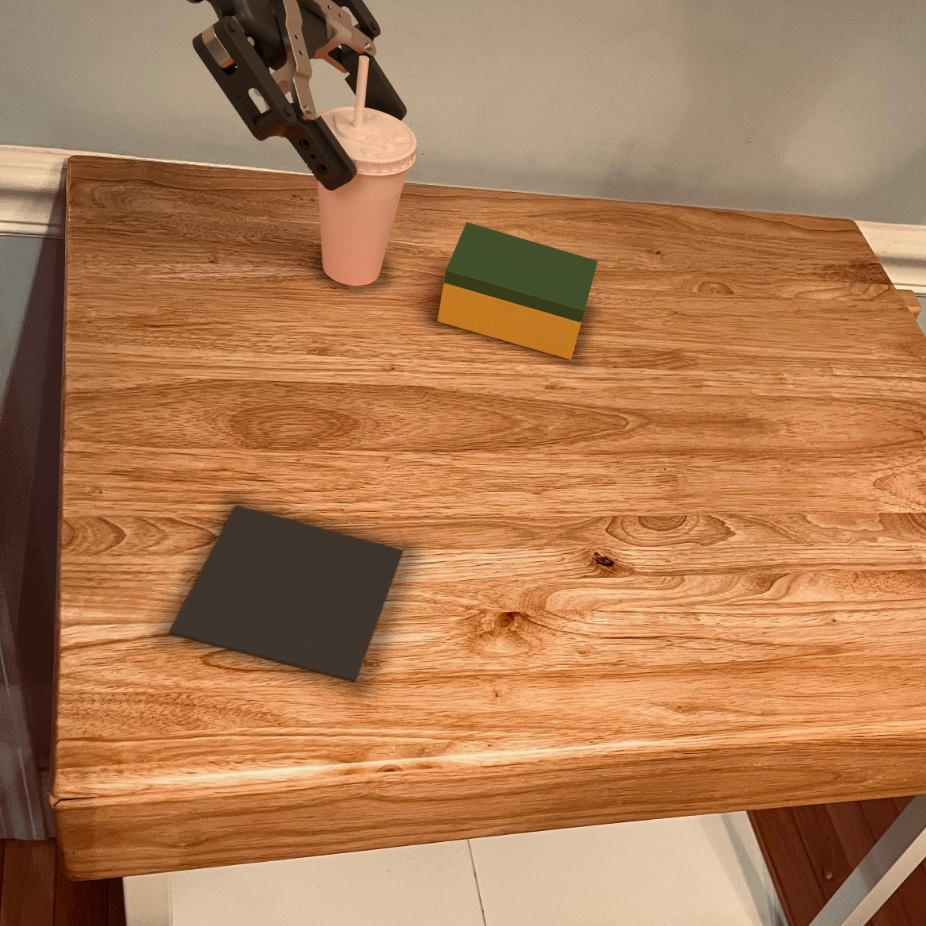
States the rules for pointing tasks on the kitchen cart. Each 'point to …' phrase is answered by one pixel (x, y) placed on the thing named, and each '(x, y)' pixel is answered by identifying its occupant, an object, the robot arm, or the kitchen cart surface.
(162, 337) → the kitchen cart surface
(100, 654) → the kitchen cart surface
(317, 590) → the cloth
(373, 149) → the smoothie
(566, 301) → the scrubber
